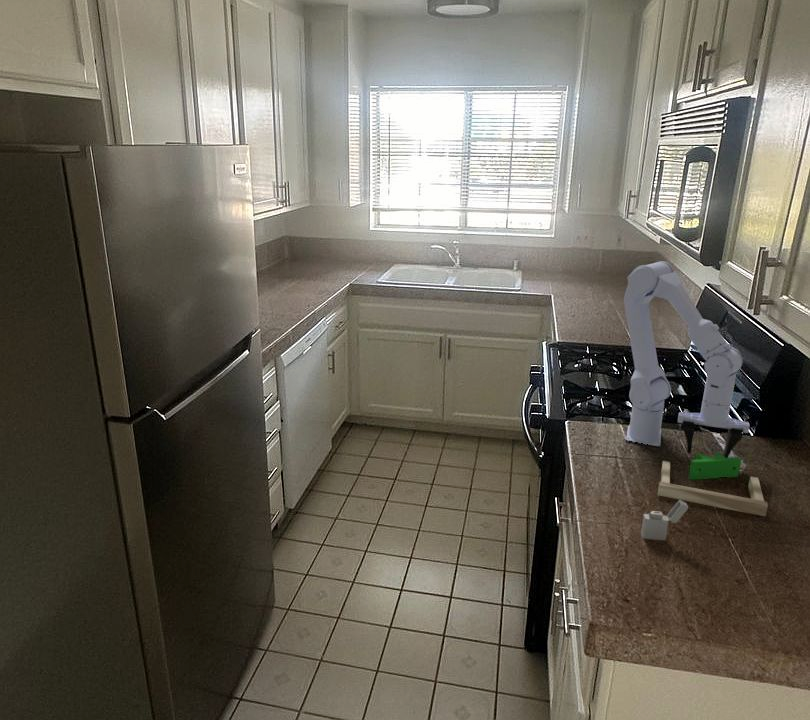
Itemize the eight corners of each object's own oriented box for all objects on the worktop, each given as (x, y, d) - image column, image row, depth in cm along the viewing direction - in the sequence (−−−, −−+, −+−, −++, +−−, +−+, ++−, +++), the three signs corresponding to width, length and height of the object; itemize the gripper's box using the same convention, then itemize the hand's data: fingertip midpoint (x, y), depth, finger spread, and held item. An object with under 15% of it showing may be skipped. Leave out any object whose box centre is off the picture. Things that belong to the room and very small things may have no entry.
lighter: (642, 538, 114) (648, 501, 111) (640, 533, 115) (646, 496, 113) (682, 542, 113) (689, 504, 110) (679, 536, 114) (686, 499, 112)
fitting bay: (658, 470, 138) (660, 460, 137) (758, 488, 130) (760, 478, 130) (657, 495, 128) (659, 484, 127) (765, 516, 120) (768, 505, 120)
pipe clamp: (727, 469, 139) (731, 451, 137) (737, 477, 135) (741, 459, 134) (681, 471, 137) (684, 453, 136) (690, 480, 134) (694, 461, 132)
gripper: (750, 399, 138) (740, 452, 142) (681, 390, 143) (673, 441, 148) (754, 411, 132) (743, 466, 136) (682, 400, 137) (673, 454, 141)
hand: (706, 454), depth 141 cm, fingers open, 7 cm apart
